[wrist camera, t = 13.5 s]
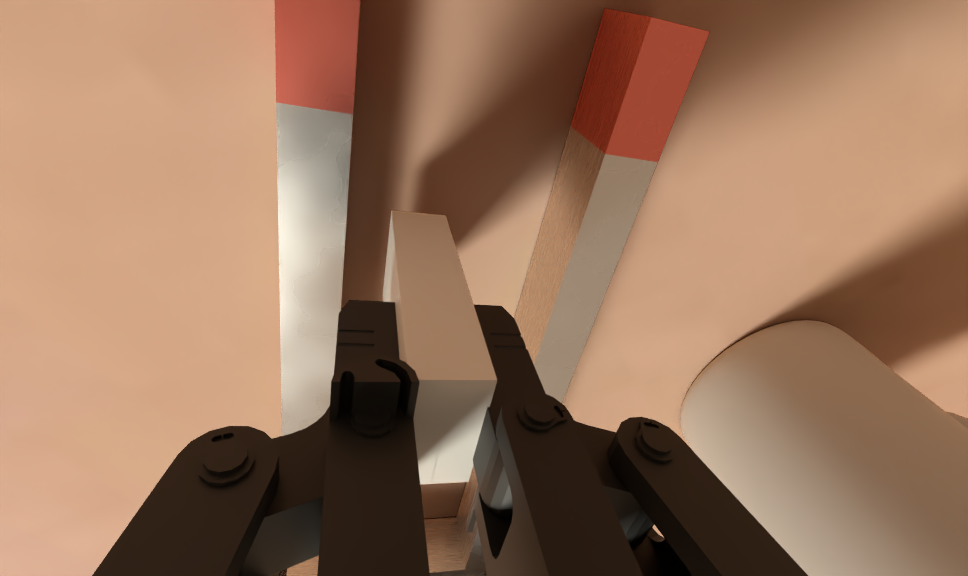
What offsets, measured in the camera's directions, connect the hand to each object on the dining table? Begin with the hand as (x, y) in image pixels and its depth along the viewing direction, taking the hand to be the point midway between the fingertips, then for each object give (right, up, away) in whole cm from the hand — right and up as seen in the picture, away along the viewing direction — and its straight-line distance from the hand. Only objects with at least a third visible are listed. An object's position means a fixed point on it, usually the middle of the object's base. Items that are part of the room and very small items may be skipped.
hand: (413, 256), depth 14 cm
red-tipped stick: (-3, -1, +1) cm, 3 cm away
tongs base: (-1, -5, +5) cm, 7 cm away
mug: (+17, -5, +10) cm, 20 cm away
